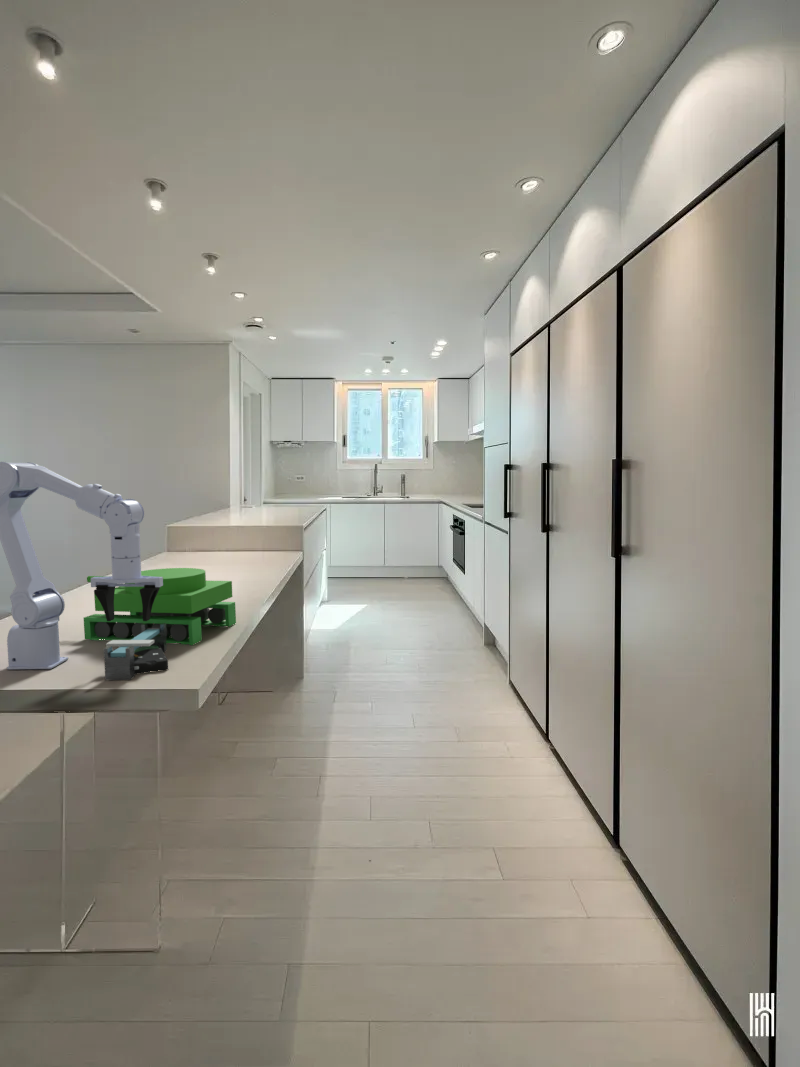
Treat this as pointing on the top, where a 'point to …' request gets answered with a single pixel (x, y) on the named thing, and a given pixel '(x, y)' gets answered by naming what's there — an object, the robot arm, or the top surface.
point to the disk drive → (149, 659)
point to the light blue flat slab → (134, 642)
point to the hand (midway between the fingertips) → (128, 620)
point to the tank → (166, 608)
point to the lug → (119, 665)
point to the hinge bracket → (158, 636)
